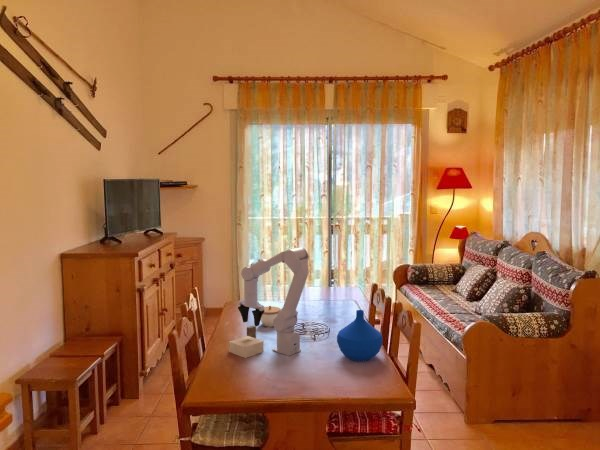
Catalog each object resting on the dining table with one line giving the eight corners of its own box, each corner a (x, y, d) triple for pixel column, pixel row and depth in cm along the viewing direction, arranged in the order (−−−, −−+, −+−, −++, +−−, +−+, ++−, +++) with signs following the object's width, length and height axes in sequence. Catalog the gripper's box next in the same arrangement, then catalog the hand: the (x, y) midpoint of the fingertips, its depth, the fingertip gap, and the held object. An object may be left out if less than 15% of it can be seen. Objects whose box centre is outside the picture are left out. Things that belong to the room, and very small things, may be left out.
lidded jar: (255, 326, 231) (254, 307, 230) (266, 320, 241) (266, 302, 240) (273, 329, 226) (273, 310, 226) (284, 323, 236) (284, 304, 235)
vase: (344, 367, 181) (344, 319, 179) (331, 350, 199) (331, 306, 197) (389, 364, 184) (390, 316, 182) (373, 347, 202) (373, 303, 200)
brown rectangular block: (255, 341, 209) (255, 326, 209) (249, 343, 207) (249, 328, 206) (252, 340, 211) (252, 325, 210) (246, 342, 208) (246, 327, 207)
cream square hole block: (263, 351, 198) (263, 340, 197) (245, 358, 190) (245, 347, 190) (247, 345, 204) (247, 335, 204) (229, 352, 197) (229, 341, 197)
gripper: (269, 294, 205) (269, 325, 206) (246, 289, 214) (247, 318, 216) (256, 297, 199) (257, 328, 201) (234, 291, 209) (235, 321, 211)
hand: (251, 323), depth 208 cm, fingers open, 7 cm apart
